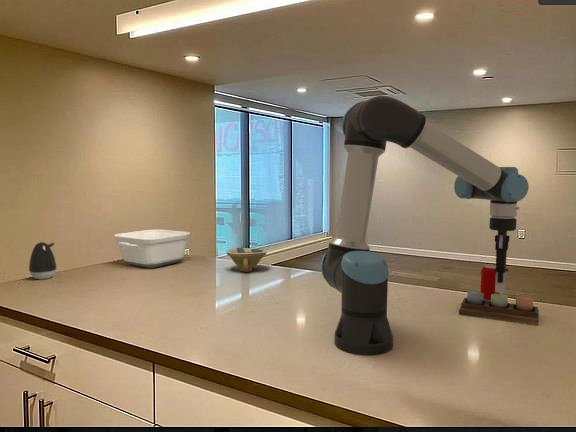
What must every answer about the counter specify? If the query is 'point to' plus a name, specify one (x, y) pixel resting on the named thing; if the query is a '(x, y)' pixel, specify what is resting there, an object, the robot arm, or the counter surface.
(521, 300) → the terracotta button
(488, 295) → the beverage can
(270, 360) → the counter surface
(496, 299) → the sage button
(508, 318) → the panel
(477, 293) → the slate button
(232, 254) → the bowl
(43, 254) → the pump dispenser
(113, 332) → the counter surface
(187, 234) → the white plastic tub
